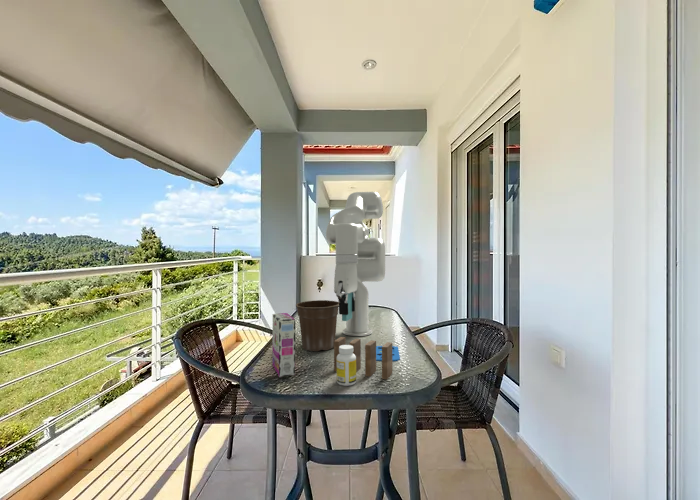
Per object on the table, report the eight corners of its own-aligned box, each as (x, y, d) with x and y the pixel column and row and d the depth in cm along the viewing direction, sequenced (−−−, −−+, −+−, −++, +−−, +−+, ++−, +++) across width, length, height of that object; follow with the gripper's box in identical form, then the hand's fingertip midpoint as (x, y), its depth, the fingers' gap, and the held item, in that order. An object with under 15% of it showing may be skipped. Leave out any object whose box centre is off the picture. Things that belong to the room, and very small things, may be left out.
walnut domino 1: (334, 370, 101) (333, 341, 101) (341, 365, 106) (341, 336, 106) (338, 371, 101) (338, 341, 100) (345, 366, 105) (345, 337, 105)
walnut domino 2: (349, 373, 99) (349, 342, 99) (355, 367, 104) (355, 338, 104) (354, 374, 99) (354, 343, 98) (360, 368, 103) (360, 339, 103)
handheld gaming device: (374, 358, 110) (375, 345, 125) (374, 362, 110) (375, 348, 125) (400, 359, 109) (397, 345, 124) (400, 362, 109) (397, 348, 124)
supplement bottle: (355, 378, 96) (355, 343, 95) (356, 386, 90) (356, 349, 90) (336, 378, 95) (336, 343, 95) (336, 386, 90) (336, 349, 90)
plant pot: (287, 351, 121) (287, 306, 120) (307, 339, 136) (307, 299, 136) (330, 355, 115) (329, 308, 115) (346, 342, 131) (345, 301, 130)
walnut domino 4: (381, 378, 95) (381, 346, 95) (387, 372, 100) (387, 342, 100) (387, 379, 95) (387, 347, 95) (392, 373, 99) (392, 342, 99)
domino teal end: (341, 320, 114) (341, 294, 114) (348, 317, 118) (347, 292, 118) (346, 321, 113) (346, 294, 113) (352, 318, 118) (352, 292, 117)
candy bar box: (296, 375, 98) (296, 319, 98) (279, 378, 96) (278, 320, 96) (287, 363, 108) (287, 312, 108) (271, 365, 106) (271, 313, 106)
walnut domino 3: (365, 375, 97) (365, 344, 97) (371, 370, 102) (371, 340, 102) (370, 376, 97) (370, 345, 96) (376, 370, 101) (376, 340, 101)
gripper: (346, 258, 124) (347, 307, 125) (325, 261, 109) (325, 317, 109) (365, 258, 121) (366, 308, 122) (346, 261, 106) (347, 319, 106)
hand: (347, 312), depth 116 cm, fingers closed on domino teal end, 4 cm apart
